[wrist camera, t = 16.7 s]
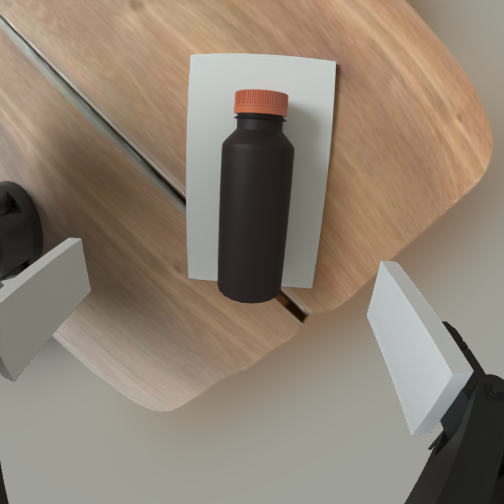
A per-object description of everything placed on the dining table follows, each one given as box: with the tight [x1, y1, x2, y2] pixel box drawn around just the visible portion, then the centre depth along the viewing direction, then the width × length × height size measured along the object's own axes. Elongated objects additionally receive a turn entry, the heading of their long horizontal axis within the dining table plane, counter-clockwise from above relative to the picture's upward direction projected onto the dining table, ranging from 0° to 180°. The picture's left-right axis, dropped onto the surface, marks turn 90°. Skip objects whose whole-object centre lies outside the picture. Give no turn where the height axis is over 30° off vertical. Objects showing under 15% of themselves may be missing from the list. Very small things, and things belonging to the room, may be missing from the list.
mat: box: [186, 54, 336, 288], centre depth 31 cm, size 15×26×1 cm, turn 177°
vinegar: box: [218, 89, 295, 303], centre depth 29 cm, size 7×7×20 cm
